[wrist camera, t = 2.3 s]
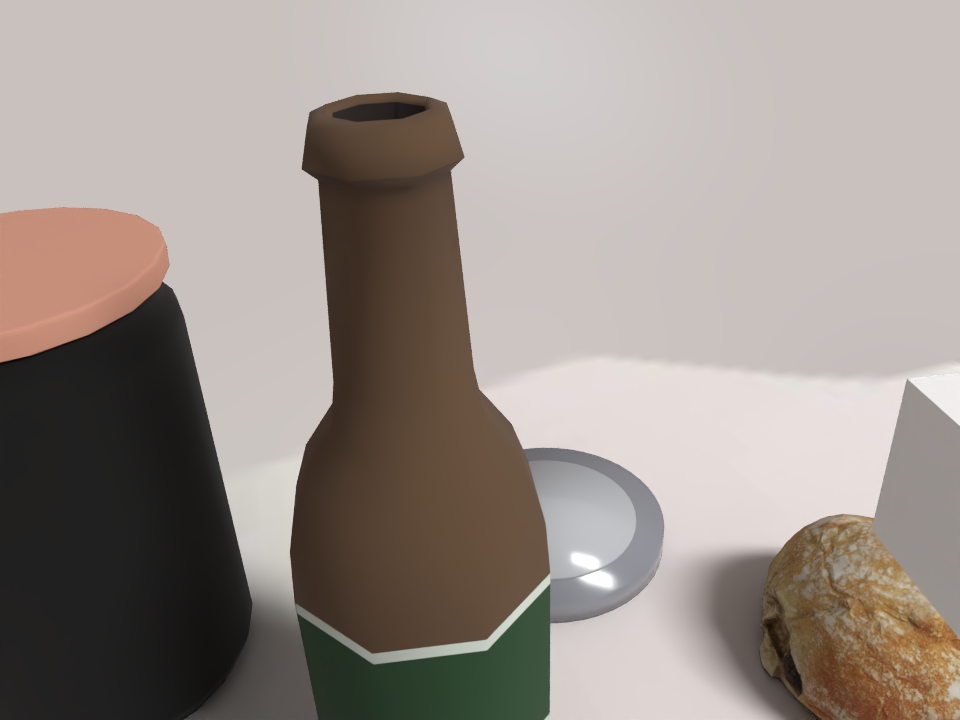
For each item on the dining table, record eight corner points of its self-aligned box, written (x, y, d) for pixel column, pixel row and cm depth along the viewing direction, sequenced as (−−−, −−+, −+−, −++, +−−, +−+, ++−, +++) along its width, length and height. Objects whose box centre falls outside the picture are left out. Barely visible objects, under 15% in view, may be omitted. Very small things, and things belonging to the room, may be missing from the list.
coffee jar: (62, 565, 41) (-74, 209, 32) (282, 564, 41) (207, 202, 32) (-66, 770, 32) (-308, 352, 23) (216, 771, 32) (83, 345, 22)
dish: (503, 660, 35) (503, 637, 35) (397, 509, 44) (395, 488, 43) (711, 564, 40) (714, 542, 39) (578, 443, 48) (579, 423, 47)
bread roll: (737, 649, 40) (685, 551, 36) (920, 528, 40) (891, 416, 36) (888, 848, 32) (846, 754, 27) (1117, 695, 32) (1112, 577, 28)
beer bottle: (303, 746, 32) (159, 98, 20) (482, 659, 36) (452, 54, 23) (388, 940, 26) (257, 190, 14) (594, 815, 30) (631, 114, 17)
